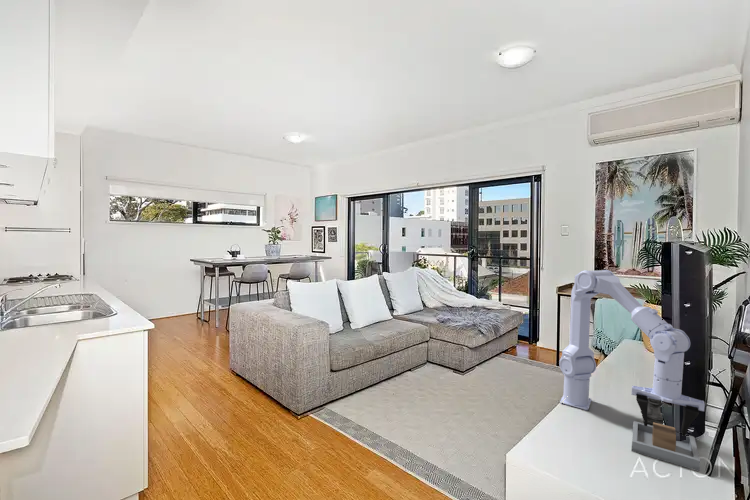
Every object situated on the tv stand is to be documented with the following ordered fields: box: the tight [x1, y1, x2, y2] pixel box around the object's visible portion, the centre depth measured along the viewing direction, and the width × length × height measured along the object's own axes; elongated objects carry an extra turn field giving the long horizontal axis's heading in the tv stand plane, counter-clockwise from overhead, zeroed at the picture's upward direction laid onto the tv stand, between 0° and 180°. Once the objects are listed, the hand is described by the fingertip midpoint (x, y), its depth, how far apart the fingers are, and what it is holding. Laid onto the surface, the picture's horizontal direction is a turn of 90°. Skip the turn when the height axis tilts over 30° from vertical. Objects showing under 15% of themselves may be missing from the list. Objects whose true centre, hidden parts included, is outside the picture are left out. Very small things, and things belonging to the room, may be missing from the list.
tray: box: [631, 420, 701, 472], centre depth 95 cm, size 13×13×2 cm
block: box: [652, 422, 677, 452], centre depth 95 cm, size 4×4×4 cm
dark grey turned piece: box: [640, 398, 665, 426], centre depth 106 cm, size 6×6×12 cm
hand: (664, 429), depth 95 cm, fingers open, 7 cm apart
